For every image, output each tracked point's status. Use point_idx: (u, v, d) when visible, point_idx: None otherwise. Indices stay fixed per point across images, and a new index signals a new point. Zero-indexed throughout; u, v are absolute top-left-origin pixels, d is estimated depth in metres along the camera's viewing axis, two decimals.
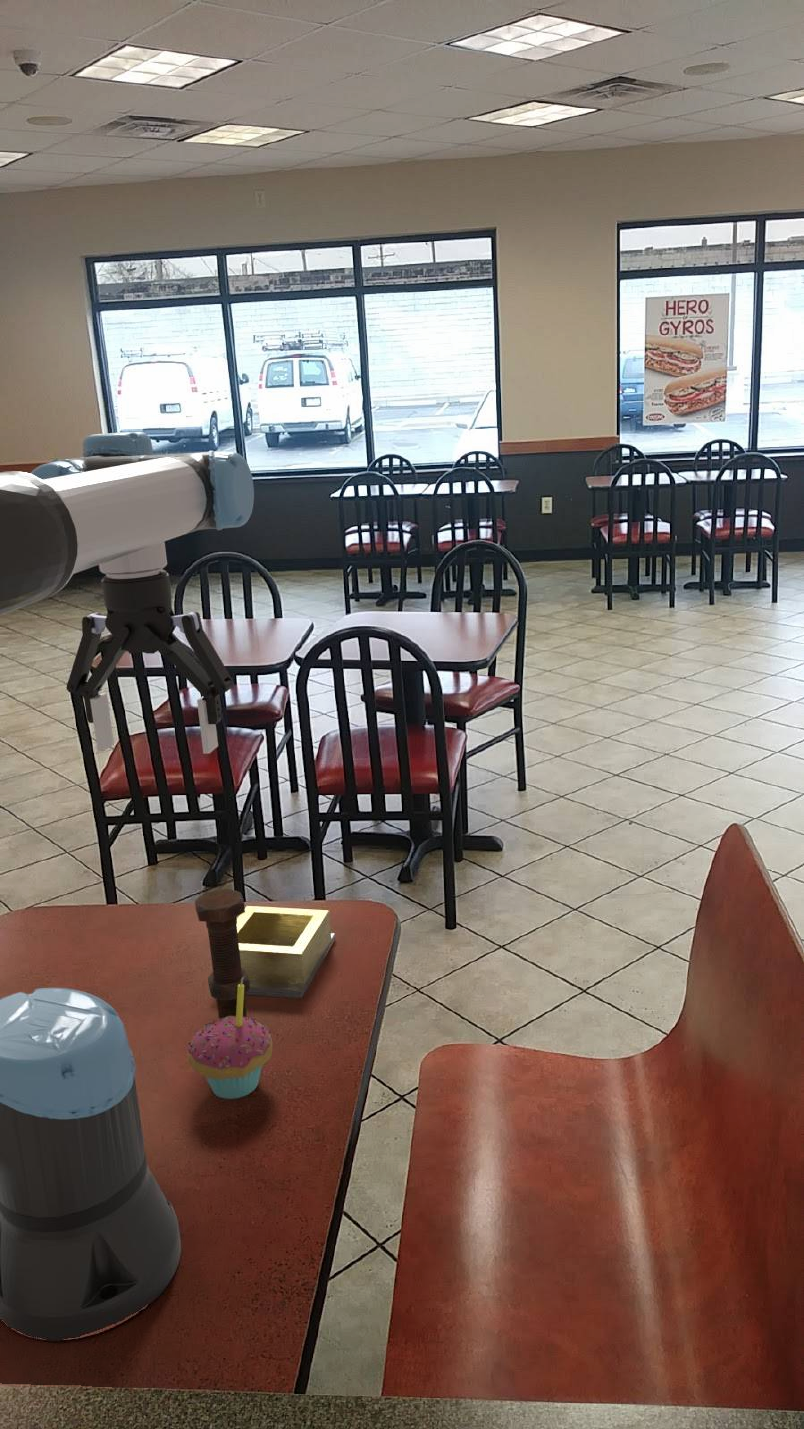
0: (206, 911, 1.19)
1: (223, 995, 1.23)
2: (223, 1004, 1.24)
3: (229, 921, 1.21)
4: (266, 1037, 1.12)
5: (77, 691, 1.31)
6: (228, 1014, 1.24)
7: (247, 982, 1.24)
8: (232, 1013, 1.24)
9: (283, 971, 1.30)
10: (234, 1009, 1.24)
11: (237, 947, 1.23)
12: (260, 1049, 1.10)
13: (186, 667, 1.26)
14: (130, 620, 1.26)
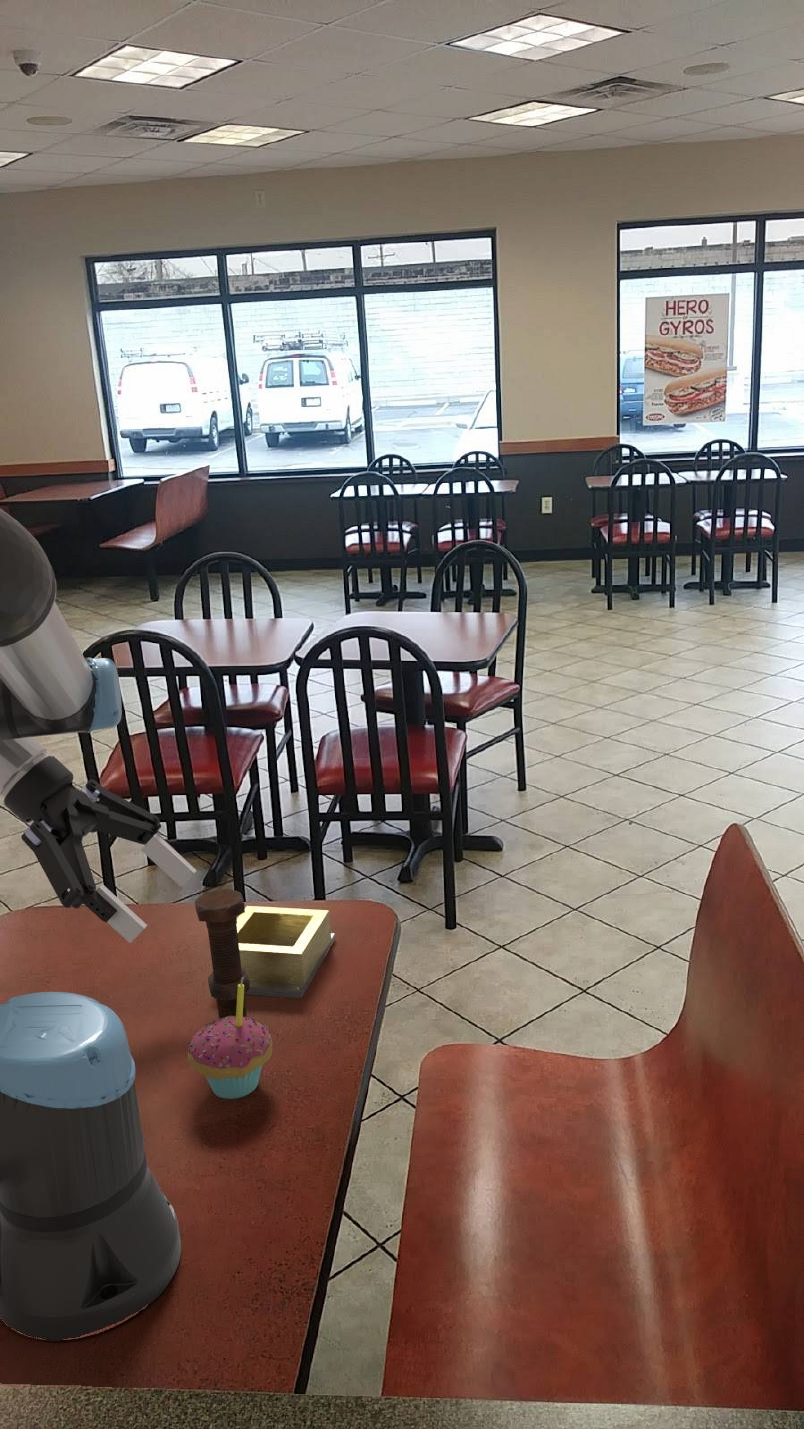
0: (206, 911, 1.19)
1: (223, 995, 1.23)
2: (223, 1004, 1.24)
3: (229, 921, 1.21)
4: (266, 1037, 1.12)
5: (82, 893, 1.16)
6: (228, 1014, 1.24)
7: (247, 982, 1.24)
8: (232, 1013, 1.24)
9: (283, 971, 1.30)
10: (234, 1009, 1.24)
11: (237, 947, 1.23)
12: (260, 1049, 1.10)
13: (125, 817, 1.29)
14: (63, 805, 1.23)
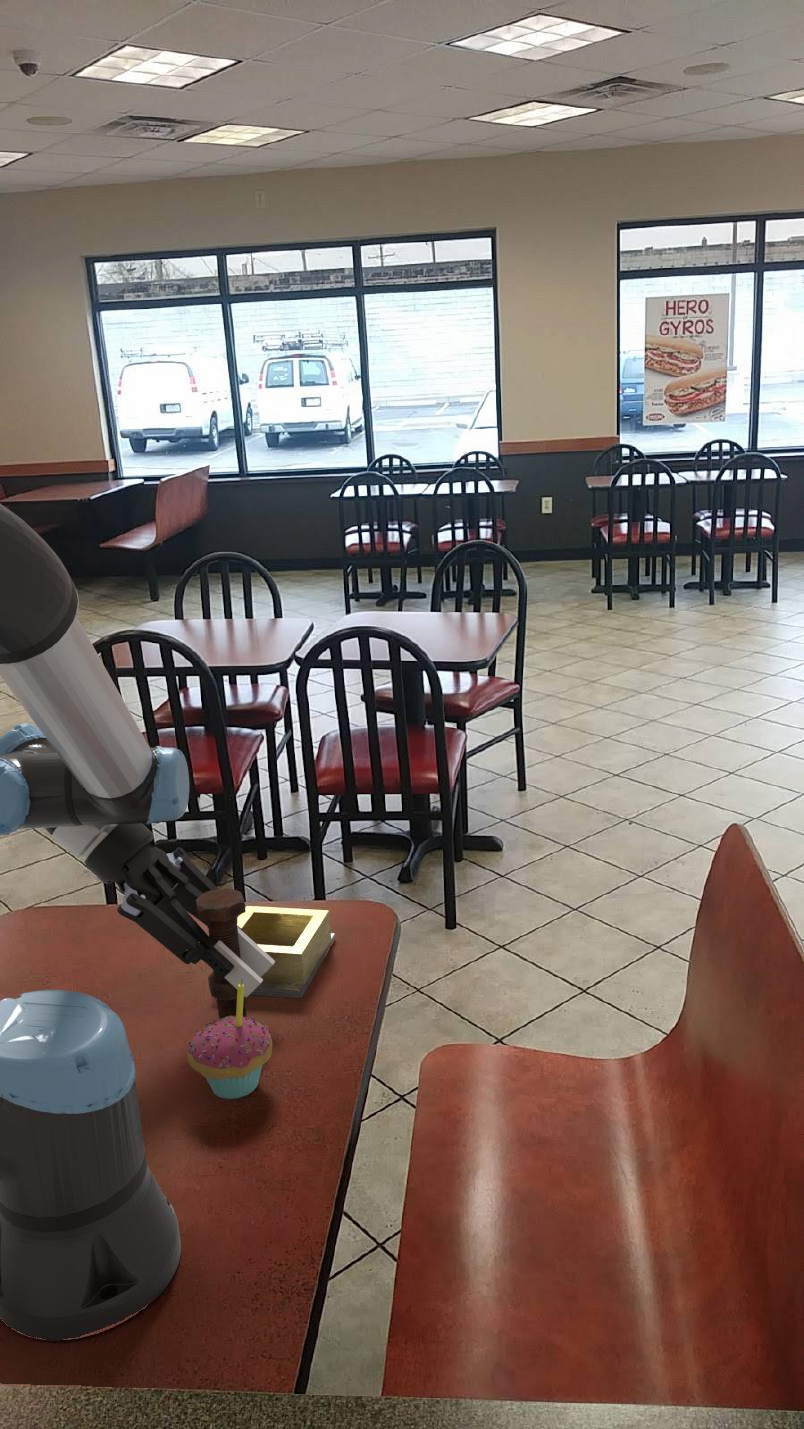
0: (207, 911, 1.19)
1: (223, 995, 1.23)
2: (223, 1004, 1.24)
3: (230, 921, 1.21)
4: (266, 1037, 1.12)
5: None
6: (228, 1014, 1.24)
7: None
8: (232, 1013, 1.24)
9: (283, 971, 1.30)
10: (234, 1009, 1.24)
11: (237, 947, 1.23)
12: (260, 1049, 1.10)
13: None
14: (134, 861, 1.21)
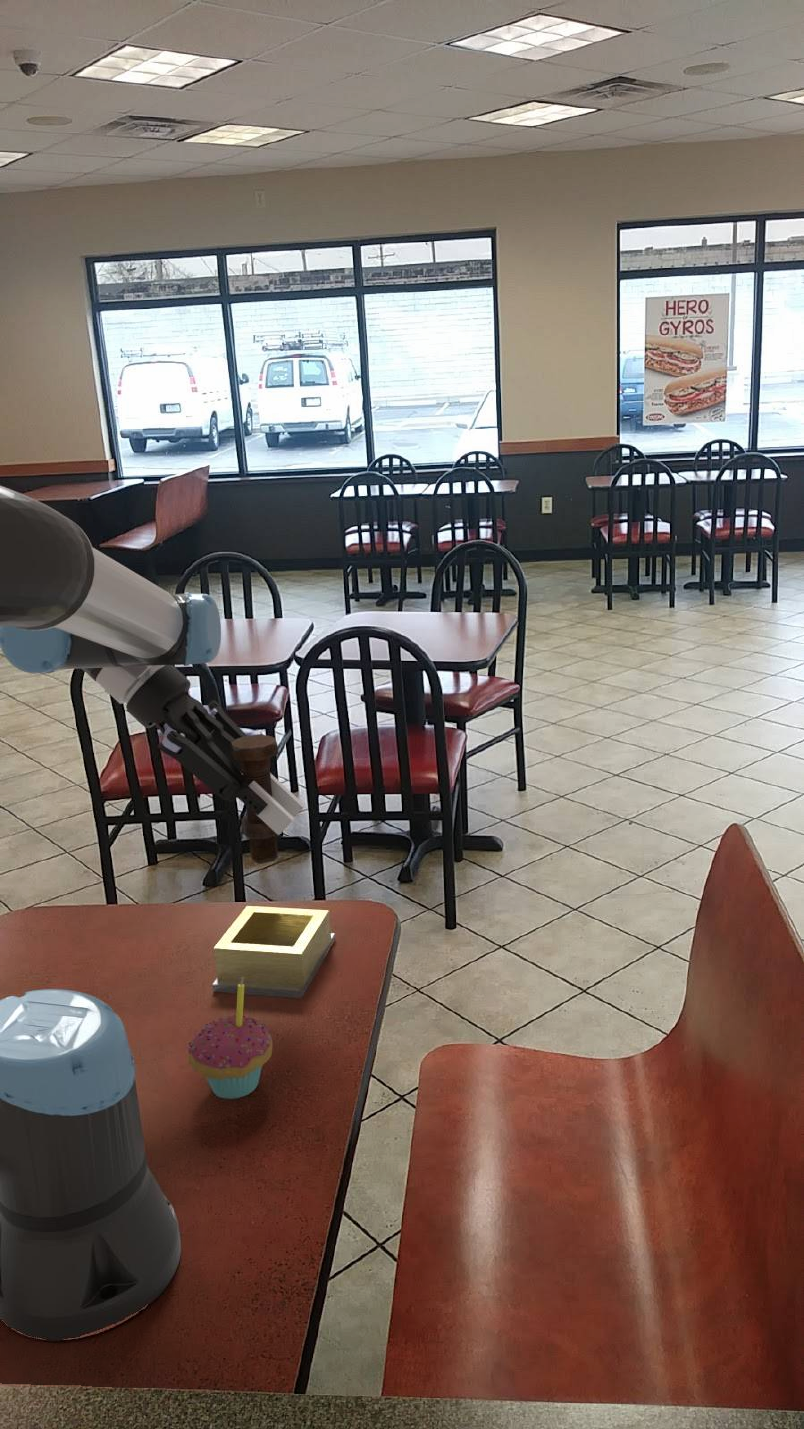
0: (242, 750, 1.26)
1: (257, 834, 1.29)
2: (256, 844, 1.31)
3: (263, 762, 1.28)
4: (266, 1037, 1.12)
5: (237, 787, 1.26)
6: (261, 854, 1.31)
7: None
8: (264, 853, 1.31)
9: (283, 971, 1.30)
10: (266, 849, 1.31)
11: (270, 789, 1.30)
12: (260, 1049, 1.10)
13: None
14: (173, 705, 1.28)
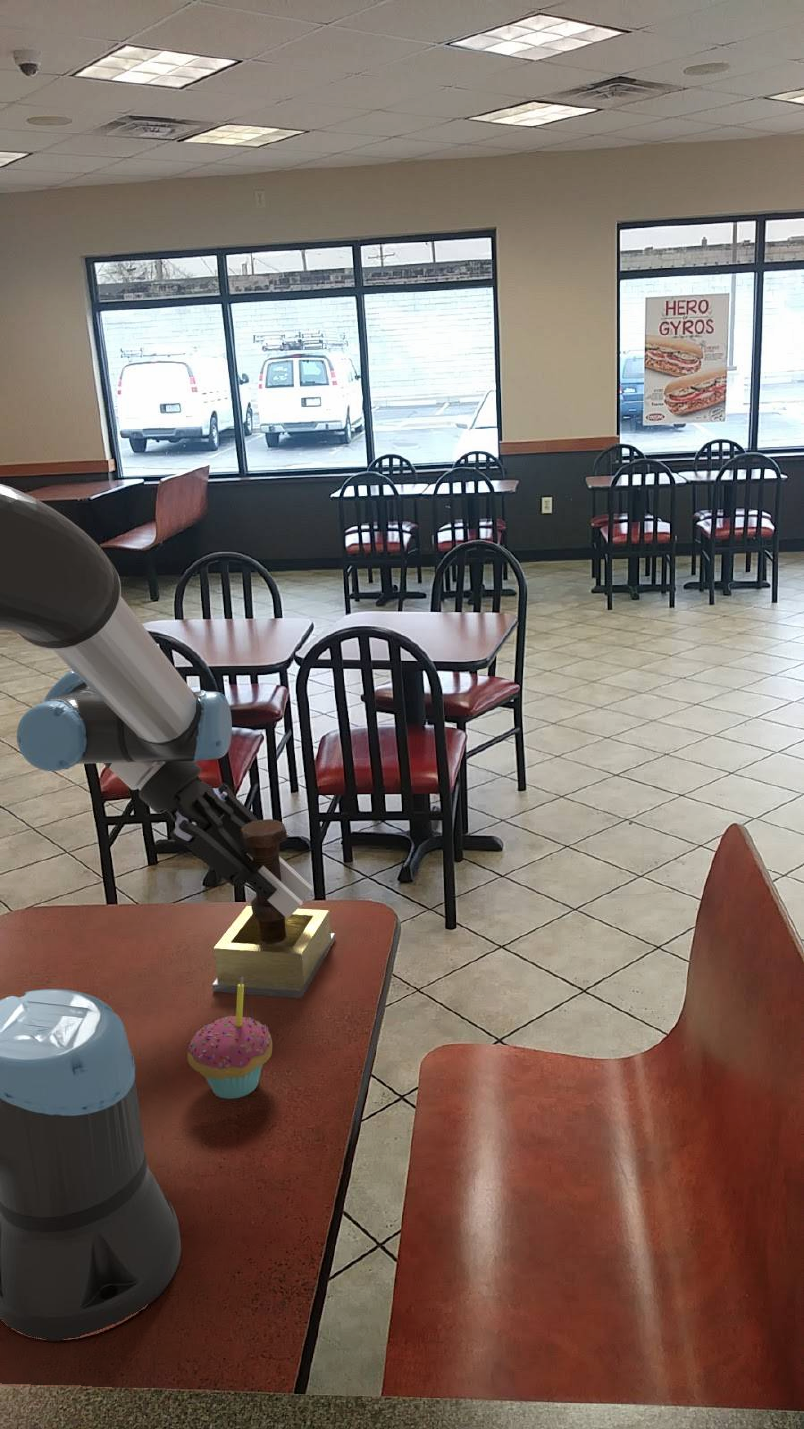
0: (252, 838, 1.30)
1: (266, 917, 1.33)
2: (265, 926, 1.34)
3: (272, 848, 1.31)
4: (266, 1037, 1.12)
5: (247, 873, 1.29)
6: (270, 935, 1.34)
7: None
8: (273, 934, 1.34)
9: (283, 971, 1.30)
10: (275, 930, 1.34)
11: (279, 873, 1.33)
12: (260, 1049, 1.10)
13: None
14: (184, 792, 1.31)
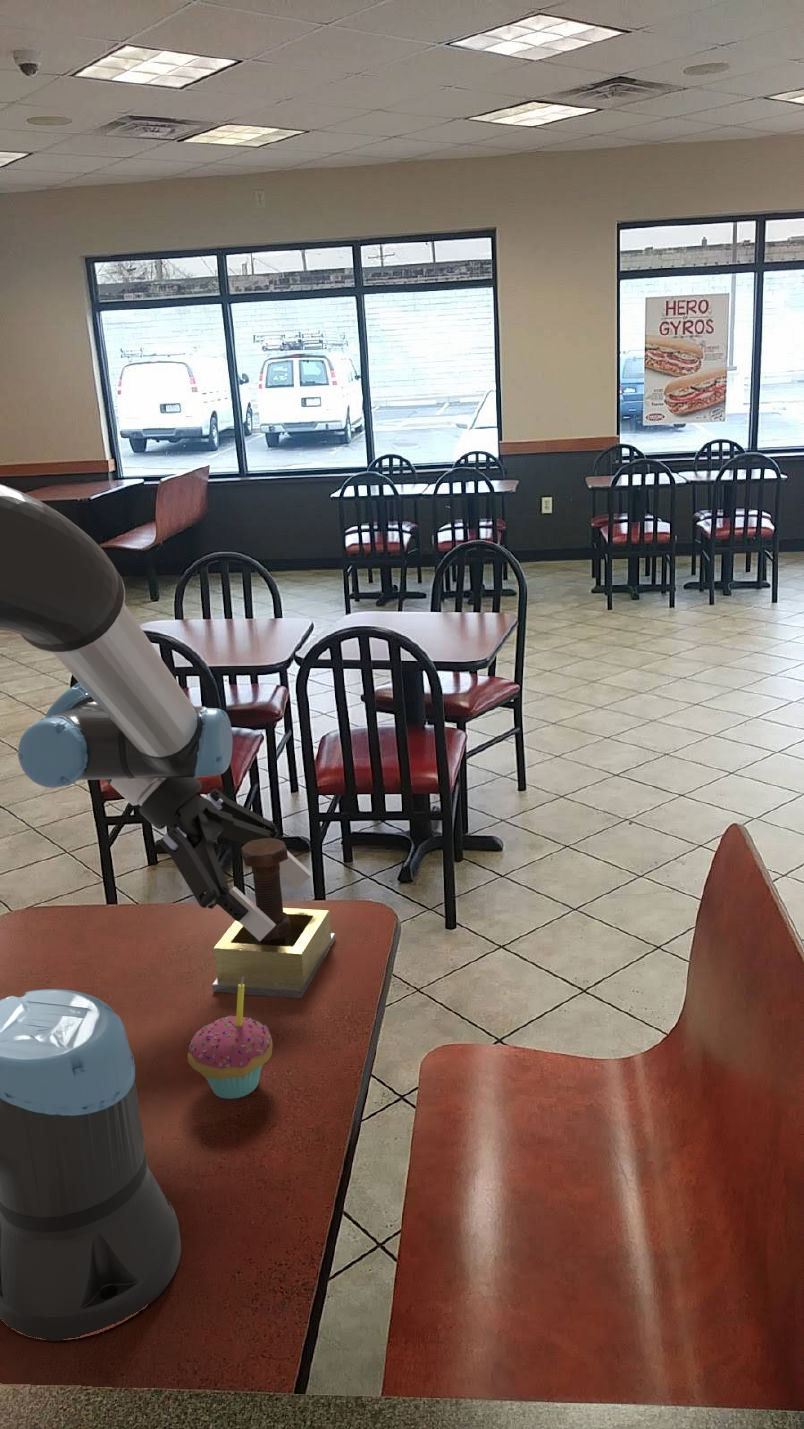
0: (253, 857, 1.30)
1: (267, 935, 1.33)
2: (266, 944, 1.34)
3: (273, 867, 1.31)
4: (266, 1037, 1.12)
5: (217, 894, 1.25)
6: None
7: (288, 924, 1.34)
8: None
9: (283, 971, 1.30)
10: None
11: (280, 891, 1.33)
12: (260, 1049, 1.10)
13: (246, 823, 1.38)
14: (193, 813, 1.32)
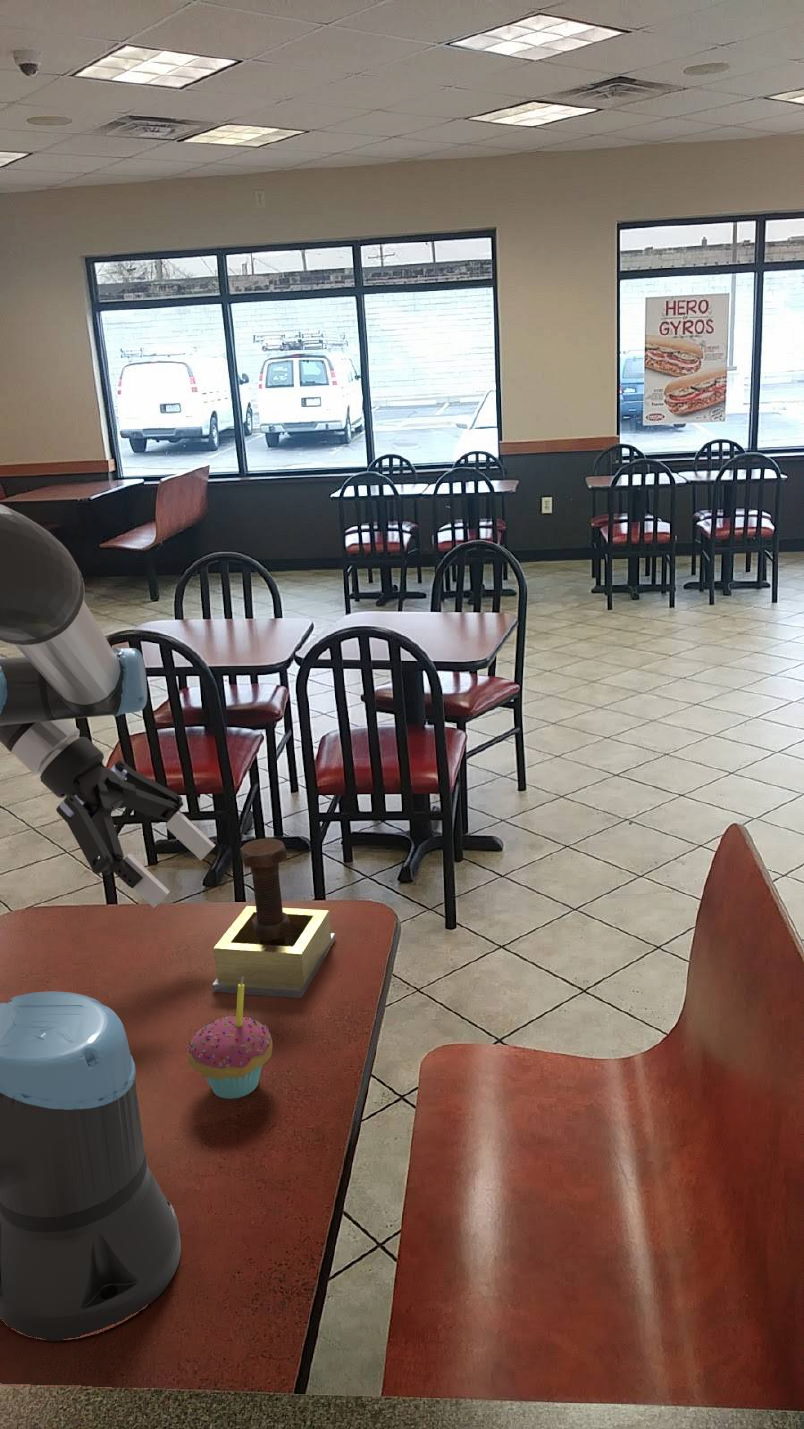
0: (251, 857, 1.30)
1: (266, 935, 1.33)
2: (266, 944, 1.34)
3: (272, 867, 1.31)
4: (266, 1037, 1.12)
5: (111, 861, 1.27)
6: None
7: (288, 924, 1.34)
8: None
9: (283, 971, 1.30)
10: None
11: (279, 891, 1.33)
12: (260, 1049, 1.10)
13: (150, 795, 1.40)
14: (94, 782, 1.34)
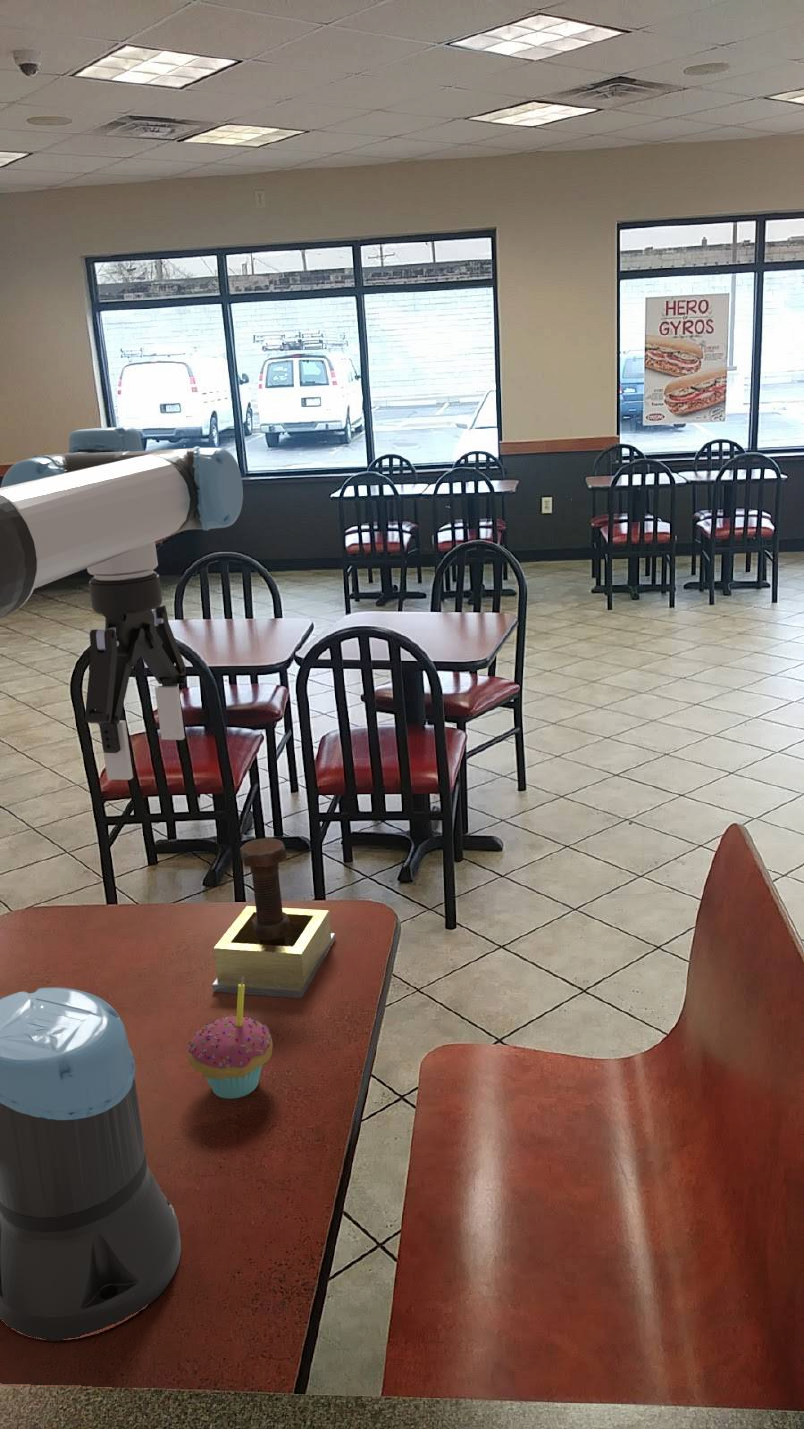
0: (251, 857, 1.30)
1: (266, 935, 1.33)
2: (266, 944, 1.34)
3: (272, 866, 1.32)
4: (266, 1037, 1.12)
5: None
6: None
7: (288, 924, 1.34)
8: None
9: (283, 971, 1.30)
10: None
11: (279, 891, 1.33)
12: (260, 1049, 1.10)
13: (167, 657, 1.28)
14: (136, 623, 1.21)
